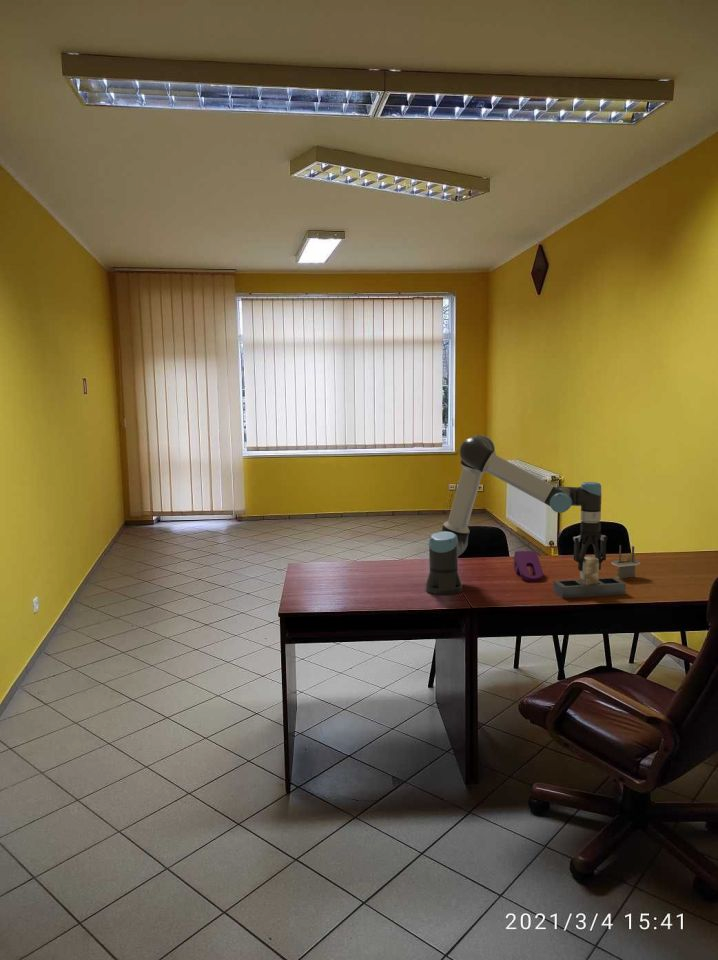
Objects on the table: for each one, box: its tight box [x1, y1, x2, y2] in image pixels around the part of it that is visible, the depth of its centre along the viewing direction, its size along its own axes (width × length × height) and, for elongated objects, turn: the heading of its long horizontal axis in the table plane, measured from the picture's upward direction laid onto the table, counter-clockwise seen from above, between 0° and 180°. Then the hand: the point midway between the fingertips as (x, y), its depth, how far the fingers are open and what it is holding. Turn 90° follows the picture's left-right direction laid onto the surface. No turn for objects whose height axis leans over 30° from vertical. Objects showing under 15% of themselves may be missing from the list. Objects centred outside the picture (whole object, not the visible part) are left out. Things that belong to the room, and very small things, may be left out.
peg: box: [580, 555, 599, 585], centre depth 264 cm, size 5×5×12 cm
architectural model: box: [611, 545, 641, 580], centre depth 285 cm, size 21×25×14 cm
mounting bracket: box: [513, 550, 544, 582], centre depth 292 cm, size 9×8×18 cm
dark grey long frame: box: [552, 576, 627, 599], centre depth 265 cm, size 26×9×4 cm, turn 96°
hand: (589, 577), depth 265 cm, fingers closed on peg, 5 cm apart
